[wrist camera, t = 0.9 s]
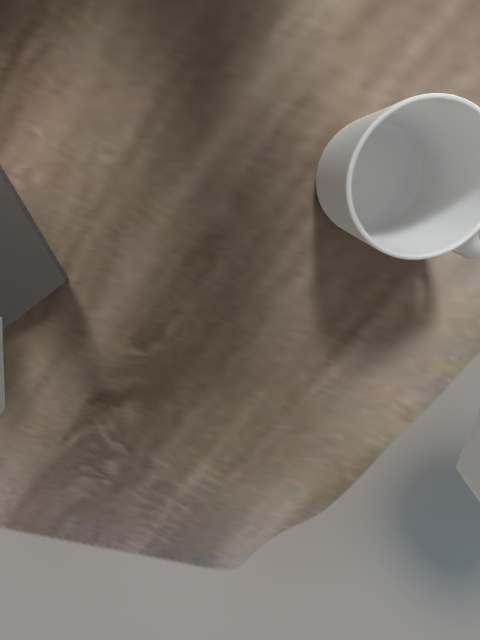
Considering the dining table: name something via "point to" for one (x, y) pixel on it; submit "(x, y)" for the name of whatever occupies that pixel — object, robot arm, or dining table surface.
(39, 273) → the lid
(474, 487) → the robot arm
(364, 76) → the dining table surface
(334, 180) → the mug
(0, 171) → the grey square frame
